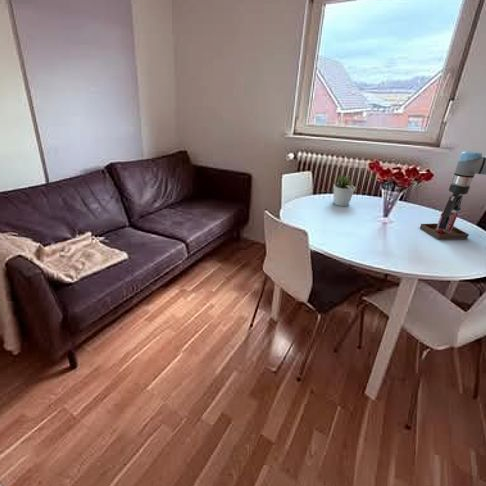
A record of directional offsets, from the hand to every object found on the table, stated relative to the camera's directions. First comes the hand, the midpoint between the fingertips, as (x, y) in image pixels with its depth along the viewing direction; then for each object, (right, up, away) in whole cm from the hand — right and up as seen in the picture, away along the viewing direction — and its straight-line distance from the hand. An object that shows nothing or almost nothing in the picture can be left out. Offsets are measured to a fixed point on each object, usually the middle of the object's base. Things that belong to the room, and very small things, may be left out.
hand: (446, 225), depth 156 cm
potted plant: (-37, +14, +40) cm, 56 cm away
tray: (0, -4, +2) cm, 5 cm away
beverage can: (0, -4, +2) cm, 4 cm away
